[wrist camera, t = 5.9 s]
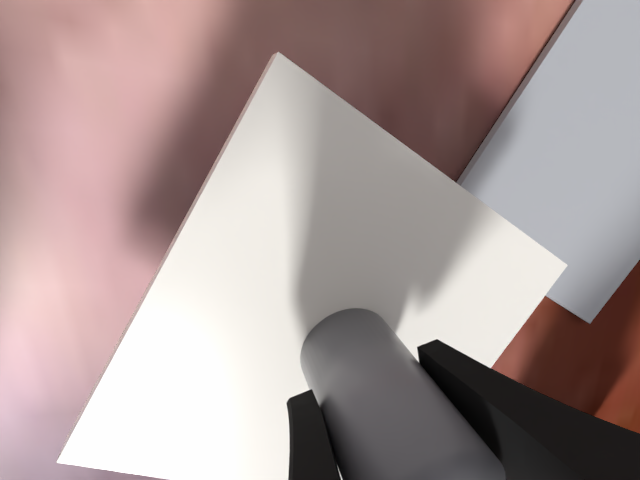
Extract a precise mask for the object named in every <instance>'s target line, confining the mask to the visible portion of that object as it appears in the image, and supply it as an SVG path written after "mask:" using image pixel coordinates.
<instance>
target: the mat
mask: <svg viewBox="0 0 640 480" xmlns="http://www.w3.org/2000/svg"><path fill="white" fill-rule="evenodd" d="M456 183H457V184H458V185H460V186H461V187H463V188H464V189H465V190H467V191H468V192H469V193H471V194H472V195H473V196H475V197H476V198H477V199H479V200H480V201H482V202H483V203H484V204H486V205H487V206H488V207H490V208H491V209H492V210H494V211H495V212H496V213H498V214H499V215H501V216H502V217H503V218H505V219H506V220H507V221H509V222H510V223H511V224H513V225H514V226H515V227H517V228H518V229H520V230H521V231H522V232H524V233H525V234H526V235H528V236H529V237H530V238H532V239H533V240H534V241H536V242H537V243H538V244H540V245H541V246H543V247H544V248H545V249H547V250H548V251H549V252H551V253H552V254H553V255H555V256H556V257H557V258H559V259H560V260H562V261H563V262H564V263H566V264H567V265H568V266H567V267H566V268H565V270H564V271H563V272H562V274H561V275H560V276H559V278H558V279H557V280H556V282H555V283H554V284H553V286H552V287H551V288H550V290H549V291H548V292H547V294H546V295H545V296H547V297H548V298H550V299H551V300H553V301H554V302H556V303H558V304H559V305H561V306H562V307H564V308H565V309H567V310H569V311H570V312H572V313H573V314H575V315H576V316H578V317H579V318H581V319H583V320H584V321H586V322H588V323H589V324H590V323H591V322H592V320H593V319H594V318H595V317H596V315H597V314H598V313H599V311H600V310H601V309H602V308H603V306H604V305H605V304H606V302H607V301H608V300H609V298H610V297H611V296H612V295H613V293H614V292H615V291H616V289H617V288H618V287H619V286H620V284H621V283H622V282H623V280H624V279H625V278H626V277H627V275H628V274H629V273H630V271H631V270H632V269H633V267H634V266H635V265H636V264H637V262H638V261H639V260H640V0H576V1H575V2H574V4H573V6H572V7H571V9H570V10H569V12H568V13H567V15H566V16H565V18H564V19H563V21H562V22H561V24H560V25H559V27H558V28H557V30H556V31H555V33H554V34H553V36H552V37H551V39H550V41H549V42H548V44H547V45H546V47H545V48H544V50H543V51H542V53H541V54H540V56H539V57H538V59H537V60H536V62H535V63H534V65H533V66H532V68H531V69H530V71H529V72H528V74H527V76H526V77H525V79H524V80H523V82H522V83H521V85H520V86H519V88H518V89H517V91H516V92H515V94H514V95H513V97H512V98H511V100H510V101H509V103H508V104H507V106H506V107H505V109H504V111H503V112H502V114H501V115H500V117H499V118H498V120H497V121H496V123H495V124H494V126H493V127H492V129H491V130H490V132H489V133H488V135H487V136H486V138H485V139H484V141H483V142H482V144H481V146H480V147H479V149H478V150H477V152H476V153H475V155H474V156H473V158H472V159H471V161H470V162H469V164H468V165H467V167H466V168H465V170H464V171H463V173H462V174H461V176H460V177H459V179H458V181H457V182H456Z"/></svg>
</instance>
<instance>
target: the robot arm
mask: <svg viewBox="0 0 640 480" xmlns="http://www.w3.org/2000/svg"><path fill="white" fill-rule="evenodd" d="M417 350H418V358H419V363H420V364H421V366H422V367H423V368H424V369H425V370H426V372H427V373H428V374H429V375H430V377H431V378H432V379H433V380H434V381H435V383H436V384H437V385H438V386H439V388H440V389H441V390H442V391H443V392H444V394H445V395H446V396H447V397H448V399H449V400H450V401H451V402H452V403H453V405H454V406H455V407H456V408H457V409H458V411H459V412H460V413H461V414H462V416H463V417H464V418H465V419H466V420H467V422H468V423H469V424H470V425H471V427H472V428H473V429H474V430H475V431H476V433H477V434H478V435H479V436H480V438H481V439H482V440H483V441H484V442H485V444H486V445H487V446H488V447H489V448H490V450H491V451H492V452H493V453H494V455H495V456H496V457H497V458H498V459H499V461H500V462H501V464H502V465H503V467H504V470H505V477H506V480H640V434H639V433H636V432H633V431H631V430H628V429H625V428H622V427H620V426H617V425H615V424H612V423H610V422H607V421H604V420H602V419H599V418H597V417H594V416H592V415H589V414H586V413H584V412H582V411H579V410H577V409H575V408H572V407H570V406H567V405H565V404H563V403H561V402H559V401H556V400H554V399H552V398H550V397H548V396H545V395H543V394H541V393H539V392H537V391H535V390H533V389H531V388H528V387H526V386H524V385H522V384H520V383H518V382H516V381H514V380H513V379H511V378H509V377H507V376H505V375H503V374H501V373H499V372H497V371H495V370H493V369H491V368H489V367H487V366H485V365H484V364H482V363H480V362H478V361H476V360H474V359H473V358H471V357H469V356H467V355H465V354H463V353H462V352H460V351H458V350H456V349H454V348H453V347H451V346H449V345H447V344H445V343H443V342H441V341H440V340H438V339H436V340H433V341H431V342H428V343H426V344H423V345H421V346H418V347H417ZM286 404H287V409H288V418H289V439H290V453H289V477H288V480H341V477H340V473H339V470H338V467H337V463H336V461H335V458H334V454H333V450H332V447H331V443H330V439H329V436H328V433H327V429H326V426H325V422H324V419H323V416H322V412H321V410H320V407H319V405H318V402H317V400H316V397H315V395H314V393H313V390H312V389H311V390H308V391H306V392H303V393H301V394H298V395H296V396H293V397H291V398H289V400H288V401H287V403H286Z"/></svg>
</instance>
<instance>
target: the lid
mask: <svg viewBox="0 0 640 480" xmlns="http://www.w3.org/2000/svg"><path fill="white" fill-rule="evenodd" d="M567 266H568V265H567V264H566V263H564V262H563V261H562V260H560V259H559V258H557V257H556V256H555V255H553V254H552V253H551V252H549V251H548V250H547V249H545V248H544V247H543V246H541V245H540V244H538V243H537V242H536V241H534V240H533V239H532V238H530V237H529V236H528V235H526V234H525V233H524V232H522V231H521V230H520V229H518V228H517V227H515V226H514V225H513V224H511V223H510V222H509V221H507V220H506V219H505V218H503V217H502V216H501V215H499V214H498V213H496V212H495V211H494V210H492V209H491V208H490V207H488V206H487V205H486V204H484V203H483V202H482V201H480V200H479V199H477V198H476V197H475V196H473V195H472V194H471V193H469V192H468V191H467V190H465V189H464V188H463V187H461V186H460V185H458V184H457V183H456V182H454V181H453V180H452V179H450V178H449V177H448V176H446V175H445V174H444V173H442V172H441V171H440V170H438V169H437V168H435V167H434V166H433V165H431V164H430V163H429V162H427V161H426V160H425V159H423V158H422V157H421V156H419V155H418V154H416V153H415V152H414V151H412V150H411V149H410V148H408V147H407V146H406V145H404V144H403V143H402V142H400V141H399V140H397V139H396V138H395V137H393V136H392V135H391V134H389V133H388V132H387V131H385V130H384V129H383V128H381V127H380V126H379V125H377V124H376V123H374V122H373V121H372V120H370V119H369V118H368V117H366V116H365V115H364V114H362V113H361V112H360V111H358V110H357V109H355V108H354V107H353V106H351V105H350V104H349V103H347V102H346V101H345V100H343V99H342V98H341V97H339V96H338V95H336V94H335V93H334V92H332V91H331V90H330V89H328V88H327V87H326V86H324V85H323V84H322V83H320V82H319V81H318V80H316V79H315V78H313V77H312V76H311V75H309V74H308V73H307V72H305V71H304V70H303V69H301V68H300V67H299V66H297V65H296V64H294V63H293V62H292V61H290V60H289V59H288V58H286V57H285V56H284V55H282V54H281V53H280V52H277V53H275V54H273V55H272V56H271V58H270V60H269V62H268V64H267V66H266V68H265V69H264V71H263V73H262V75H261V77H260V79H259V81H258V82H257V84H256V86H255V88H254V90H253V92H252V94H251V95H250V97H249V99H248V101H247V103H246V105H245V107H244V108H243V110H242V112H241V114H240V116H239V118H238V120H237V121H236V123H235V125H234V127H233V129H232V131H231V133H230V134H229V136H228V138H227V140H226V142H225V144H224V146H223V147H222V149H221V151H220V153H219V155H218V157H217V159H216V160H215V162H214V164H213V166H212V168H211V170H210V172H209V173H208V175H207V177H206V179H205V181H204V183H203V185H202V186H201V188H200V190H199V192H198V194H197V196H196V198H195V199H194V201H193V203H192V205H191V207H190V209H189V211H188V213H187V214H186V216H185V218H184V220H183V222H182V224H181V226H180V227H179V229H178V231H177V233H176V235H175V237H174V239H173V240H172V242H171V244H170V246H169V248H168V250H167V252H166V253H165V255H164V257H163V259H162V261H161V263H160V265H159V266H158V268H157V270H156V272H155V274H154V276H153V278H152V279H151V281H150V283H149V285H148V287H147V289H146V291H145V292H144V294H143V296H142V298H141V300H140V302H139V304H138V305H137V307H136V309H135V311H134V313H133V315H132V317H131V318H130V320H129V322H128V324H127V326H126V328H125V330H124V331H123V333H122V335H121V337H120V339H119V341H118V343H117V344H116V346H115V348H114V350H113V352H112V354H111V356H110V358H109V359H108V361H107V363H106V365H105V367H104V369H103V371H102V372H101V374H100V376H99V378H98V380H97V382H96V384H95V385H94V387H93V389H92V391H91V393H90V395H89V397H88V398H87V400H86V402H85V404H84V406H83V408H82V410H81V411H80V413H79V415H78V417H77V419H76V421H75V423H74V424H73V426H72V428H71V430H70V432H69V434H68V436H67V437H66V440H65V442H64V445H63V447H62V450H61V452H60V455H59V457H58V460H57V462H56V463H62V464H69V465H76V466H83V467H89V468H96V469H103V470H110V471H117V472H123V473H130V474H137V475H144V476H151V477H157V478H164V479H171V480H288V477H289V453H290V439H289V418H288V409H287V404H286V403H287V401H288V400H289V398H291V397H293V396H296V395H298V394H301V393H303V392H306V391H308V390H311V389H312V390H313V393H314V395H315V397H316V400H317V402H318V405H319V407H320V410H321V412H322V416H323V419H324V422H325V426H326V429H327V433H328V436H329V439H330V443H331V447H332V450H333V454H334V458H335V461H336V463H337V467H338V470H339V473H340V477H341V480H506V477H505V470H504V467H503V465H502V464H501V462H500V461H499V459H498V458H497V457H496V456H495V455H494V453H493V452H492V451H491V450H490V448H489V447H488V446H487V445H486V444H485V442H484V441H483V440H482V439H481V438H480V436H479V435H478V434H477V433H476V431H475V430H474V429H473V428H472V427H471V425H470V424H469V423H468V422H467V420H466V419H465V418H464V417H463V416H462V414H461V413H460V412H459V411H458V409H457V408H456V407H455V406H454V405H453V403H452V402H451V401H450V400H449V399H448V397H447V396H446V395H445V394H444V392H443V391H442V390H441V389H440V388H439V386H438V385H437V384H436V383H435V381H434V380H433V379H432V378H431V377H430V375H429V374H428V373H427V372H426V370H425V369H424V368H423V367H422V366H421V364H420V363H419V358H418V350H417V347H418V346H421V345H423V344H426V343H428V342H431V341H433V340H436V339H438V340H440V341H441V342H443V343H445V344H447V345H449V346H451V347H453V348H454V349H456V350H458V351H460V352H462V353H463V354H465V355H467V356H469V357H471V358H473V359H474V360H476V361H478V362H480V363H482V364H484V365H485V366H487V367H489V368H491V367H492V366H493V364H494V363H495V362H496V360H497V359H498V358H499V356H500V355H501V354H502V352H503V351H504V350H505V348H506V347H507V346H508V344H509V343H510V342H511V340H512V339H513V338H514V336H515V335H516V334H517V332H518V331H519V330H520V328H521V327H522V326H523V324H524V323H525V322H526V320H527V319H528V318H529V316H530V315H531V314H532V312H533V311H534V310H535V308H536V307H537V306H538V304H539V303H540V302H541V300H542V299H543V298H544V296H545V295H546V294H547V292H548V291H549V290H550V288H551V287H552V286H553V284H554V283H555V282H556V280H557V279H558V278H559V276H560V275H561V274H562V272H563V271H564V270H565V268H566V267H567Z"/></svg>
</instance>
